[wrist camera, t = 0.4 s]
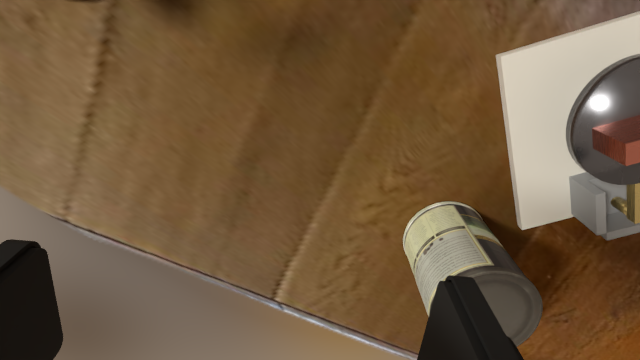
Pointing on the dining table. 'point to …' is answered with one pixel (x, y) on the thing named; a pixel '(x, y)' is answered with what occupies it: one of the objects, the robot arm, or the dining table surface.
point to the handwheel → (610, 131)
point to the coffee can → (471, 264)
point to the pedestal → (560, 125)
